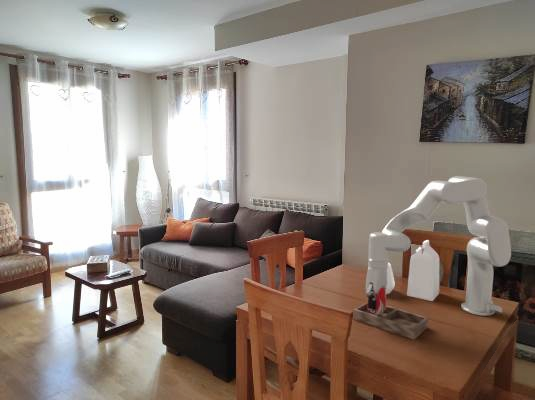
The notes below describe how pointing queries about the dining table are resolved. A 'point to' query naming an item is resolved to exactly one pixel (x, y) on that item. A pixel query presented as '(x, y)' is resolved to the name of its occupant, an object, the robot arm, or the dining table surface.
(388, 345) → the dining table surface
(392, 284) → the white faceted vase
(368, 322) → the caddy
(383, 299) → the soda can
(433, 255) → the milk
